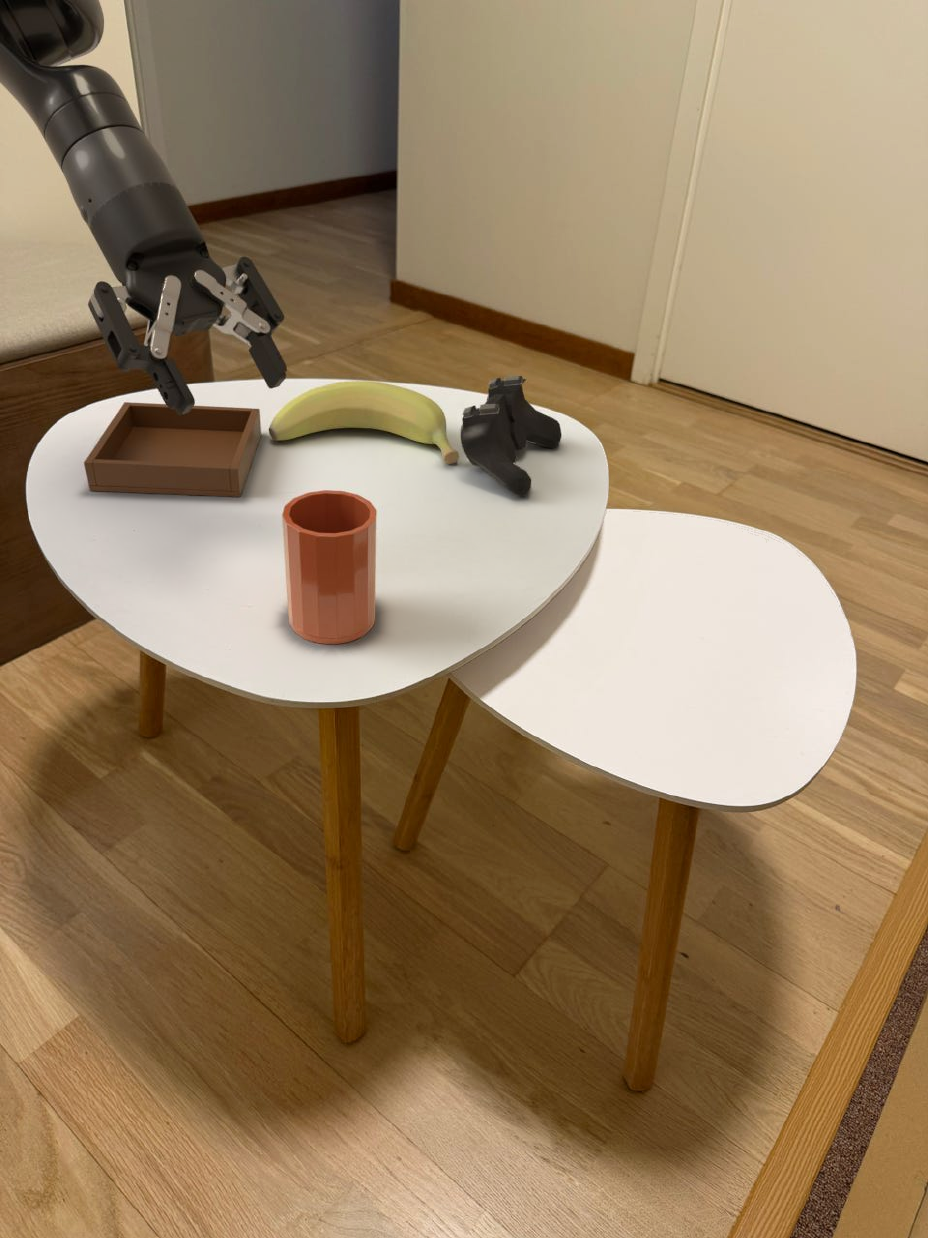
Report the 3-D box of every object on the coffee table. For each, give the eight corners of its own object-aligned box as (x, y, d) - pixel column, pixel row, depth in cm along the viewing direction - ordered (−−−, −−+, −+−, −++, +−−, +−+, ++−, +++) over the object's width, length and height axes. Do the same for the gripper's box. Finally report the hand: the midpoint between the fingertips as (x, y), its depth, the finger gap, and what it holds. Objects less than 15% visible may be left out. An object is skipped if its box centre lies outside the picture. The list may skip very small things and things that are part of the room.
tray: (89, 490, 87) (83, 462, 86) (128, 428, 99) (124, 401, 97) (240, 497, 88) (237, 469, 87) (261, 434, 100) (259, 408, 98)
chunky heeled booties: (515, 452, 107) (484, 374, 103) (568, 438, 104) (538, 356, 99) (472, 513, 94) (435, 427, 90) (530, 499, 91) (494, 408, 87)
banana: (334, 347, 103) (484, 410, 98) (337, 386, 108) (481, 448, 102) (260, 412, 96) (417, 484, 90) (267, 450, 100) (417, 521, 95)
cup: (284, 643, 70) (277, 534, 64) (294, 592, 76) (288, 488, 70) (373, 645, 71) (374, 538, 65) (376, 595, 76) (378, 492, 71)
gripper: (56, 187, 62) (170, 396, 63) (228, 170, 71) (326, 353, 72) (36, 250, 68) (140, 440, 69) (197, 226, 77) (288, 395, 77)
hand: (235, 395), depth 70 cm, fingers open, 8 cm apart
